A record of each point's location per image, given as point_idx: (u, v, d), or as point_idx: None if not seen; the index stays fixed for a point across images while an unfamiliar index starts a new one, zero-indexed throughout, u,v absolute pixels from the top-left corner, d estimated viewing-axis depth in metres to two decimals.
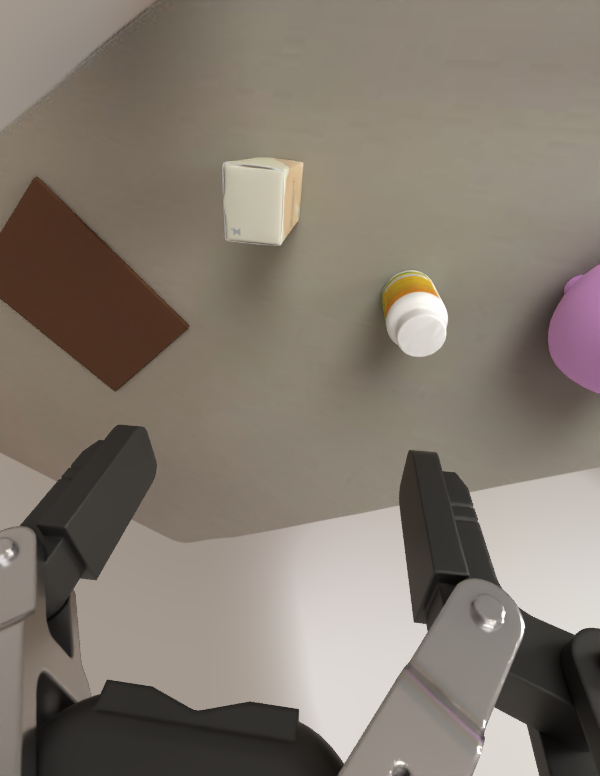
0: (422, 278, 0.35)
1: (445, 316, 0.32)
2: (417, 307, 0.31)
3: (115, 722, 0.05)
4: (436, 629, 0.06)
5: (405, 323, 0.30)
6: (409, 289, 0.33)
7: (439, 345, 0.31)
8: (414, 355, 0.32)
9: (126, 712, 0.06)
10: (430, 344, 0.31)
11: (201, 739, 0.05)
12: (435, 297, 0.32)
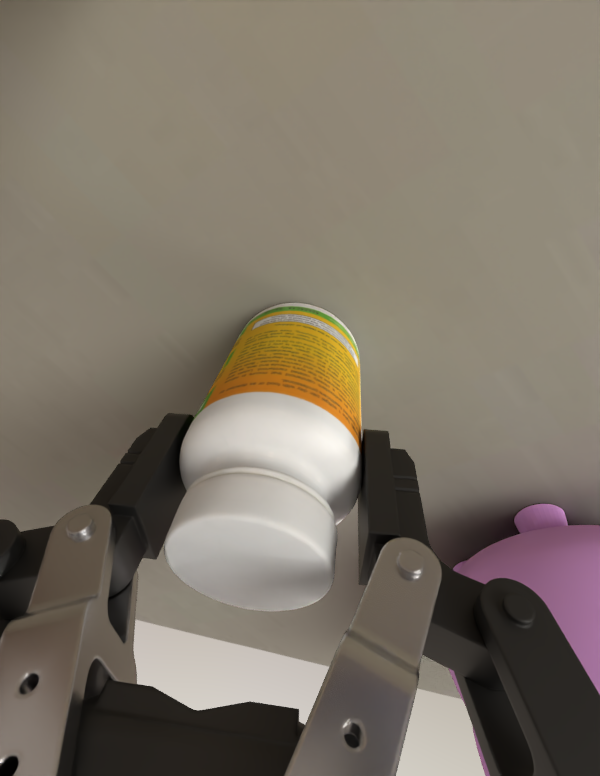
0: (350, 358, 0.13)
1: None
2: (294, 461, 0.09)
3: (115, 722, 0.05)
4: (369, 591, 0.07)
5: (219, 520, 0.07)
6: (306, 380, 0.10)
7: (282, 608, 0.09)
8: (198, 589, 0.09)
9: (126, 712, 0.06)
10: (259, 595, 0.09)
11: (201, 739, 0.05)
12: (356, 454, 0.10)
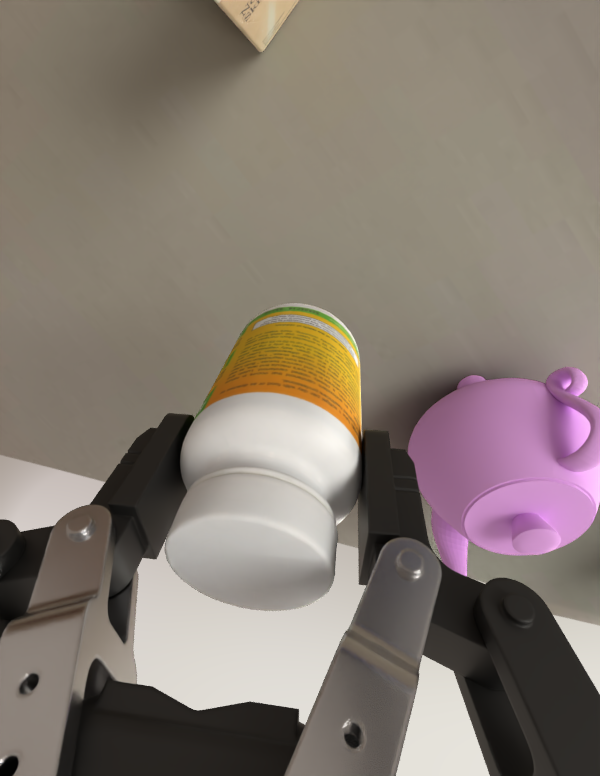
0: (350, 358, 0.13)
1: None
2: (295, 461, 0.09)
3: (115, 722, 0.05)
4: (369, 591, 0.07)
5: (220, 519, 0.07)
6: (306, 380, 0.10)
7: (283, 607, 0.09)
8: (199, 589, 0.09)
9: (126, 712, 0.06)
10: (259, 594, 0.09)
11: (201, 739, 0.05)
12: (357, 454, 0.10)
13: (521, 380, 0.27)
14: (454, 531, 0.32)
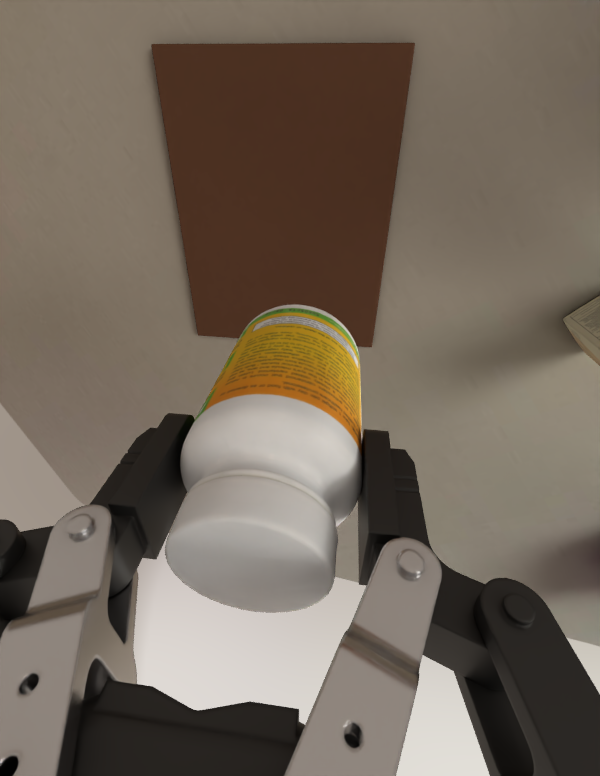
0: (350, 360, 0.13)
1: (346, 513, 0.11)
2: (295, 463, 0.09)
3: (115, 722, 0.05)
4: (369, 592, 0.07)
5: (220, 521, 0.07)
6: (306, 381, 0.10)
7: (283, 609, 0.09)
8: (199, 591, 0.09)
9: (126, 712, 0.06)
10: (260, 596, 0.09)
11: (201, 739, 0.05)
12: (357, 456, 0.10)
13: None
14: None
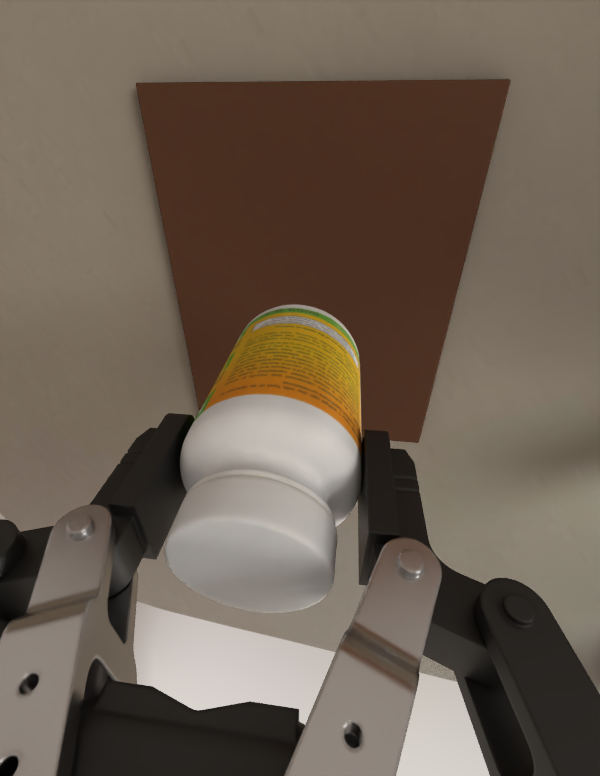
0: (350, 360, 0.13)
1: (346, 514, 0.11)
2: (295, 464, 0.09)
3: (115, 722, 0.05)
4: (369, 592, 0.07)
5: (220, 522, 0.07)
6: (306, 381, 0.10)
7: (282, 609, 0.09)
8: (198, 591, 0.09)
9: (126, 712, 0.06)
10: (259, 597, 0.09)
11: (201, 739, 0.05)
12: (356, 456, 0.10)
13: None
14: None
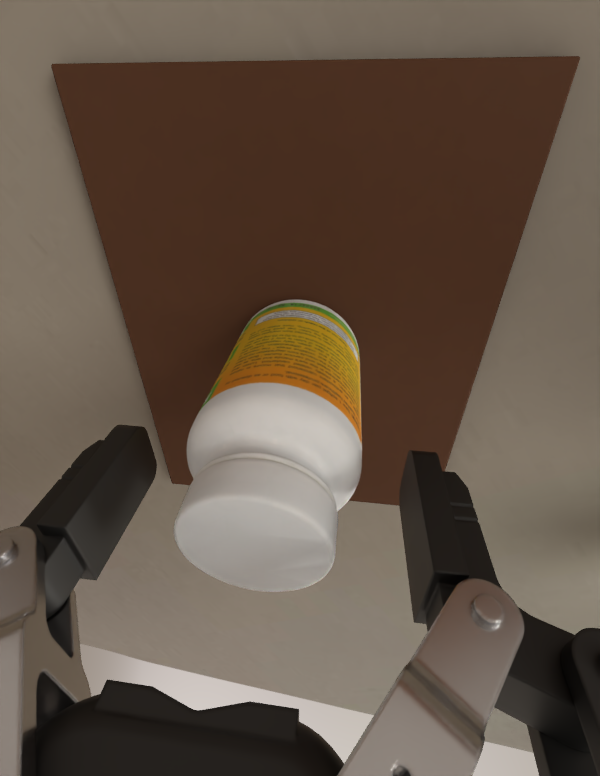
0: (350, 353, 0.14)
1: (346, 499, 0.11)
2: (297, 448, 0.09)
3: (115, 722, 0.05)
4: (436, 629, 0.06)
5: (227, 500, 0.08)
6: (308, 371, 0.11)
7: (285, 588, 0.10)
8: (205, 570, 0.10)
9: (126, 712, 0.06)
10: (264, 575, 0.09)
11: (201, 739, 0.05)
12: (356, 442, 0.10)
13: None
14: None
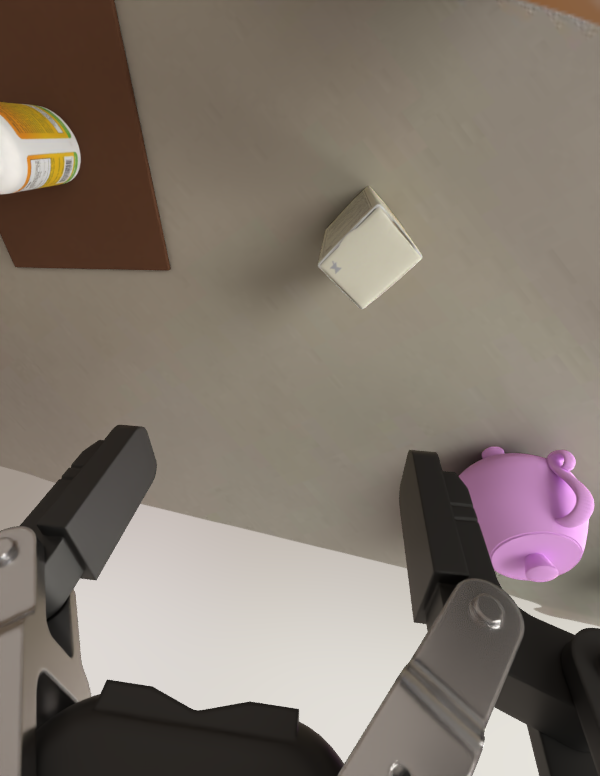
0: (47, 122, 0.27)
1: (13, 162, 0.25)
2: None
3: (115, 722, 0.05)
4: (436, 629, 0.06)
5: None
6: None
7: None
8: None
9: (126, 712, 0.06)
10: None
11: (201, 739, 0.05)
12: (9, 129, 0.24)
13: (529, 457, 0.39)
14: None
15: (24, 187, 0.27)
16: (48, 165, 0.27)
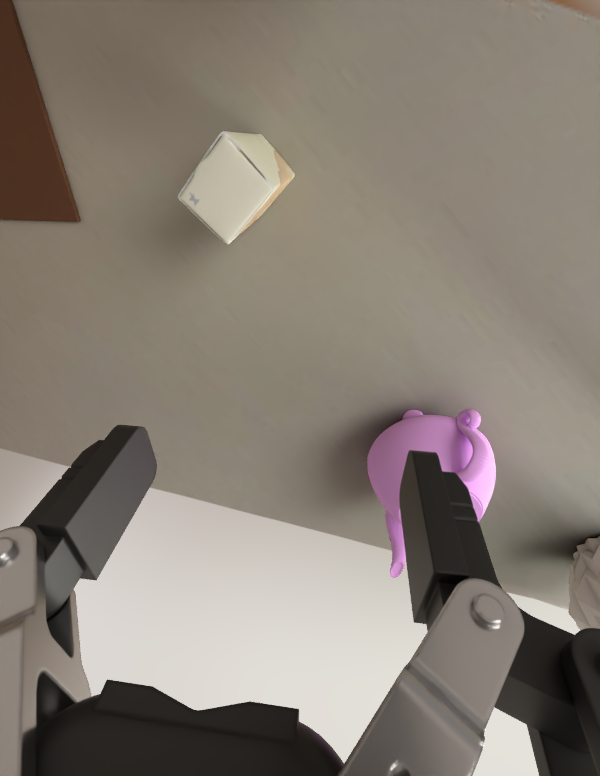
0: None
1: None
2: None
3: (115, 722, 0.05)
4: (436, 629, 0.06)
5: None
6: None
7: None
8: None
9: (126, 712, 0.06)
10: None
11: (201, 739, 0.05)
12: None
13: (439, 417, 0.40)
14: None
15: None
16: None
